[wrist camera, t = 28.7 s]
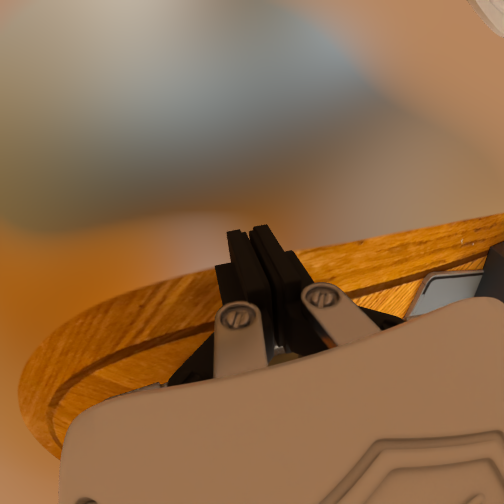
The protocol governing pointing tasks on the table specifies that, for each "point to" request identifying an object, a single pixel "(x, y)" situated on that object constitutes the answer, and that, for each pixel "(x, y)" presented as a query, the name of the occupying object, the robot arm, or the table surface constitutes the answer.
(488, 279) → the stand
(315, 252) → the table surface
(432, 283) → the smartphone
